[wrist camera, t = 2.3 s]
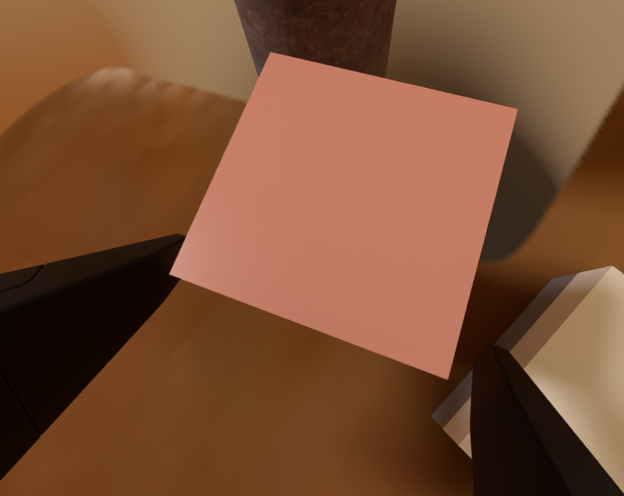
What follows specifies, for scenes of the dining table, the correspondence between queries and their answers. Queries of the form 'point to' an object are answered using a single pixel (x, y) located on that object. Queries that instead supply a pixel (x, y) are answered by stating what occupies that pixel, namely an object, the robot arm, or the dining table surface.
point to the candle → (320, 32)
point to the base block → (567, 363)
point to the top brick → (353, 208)
